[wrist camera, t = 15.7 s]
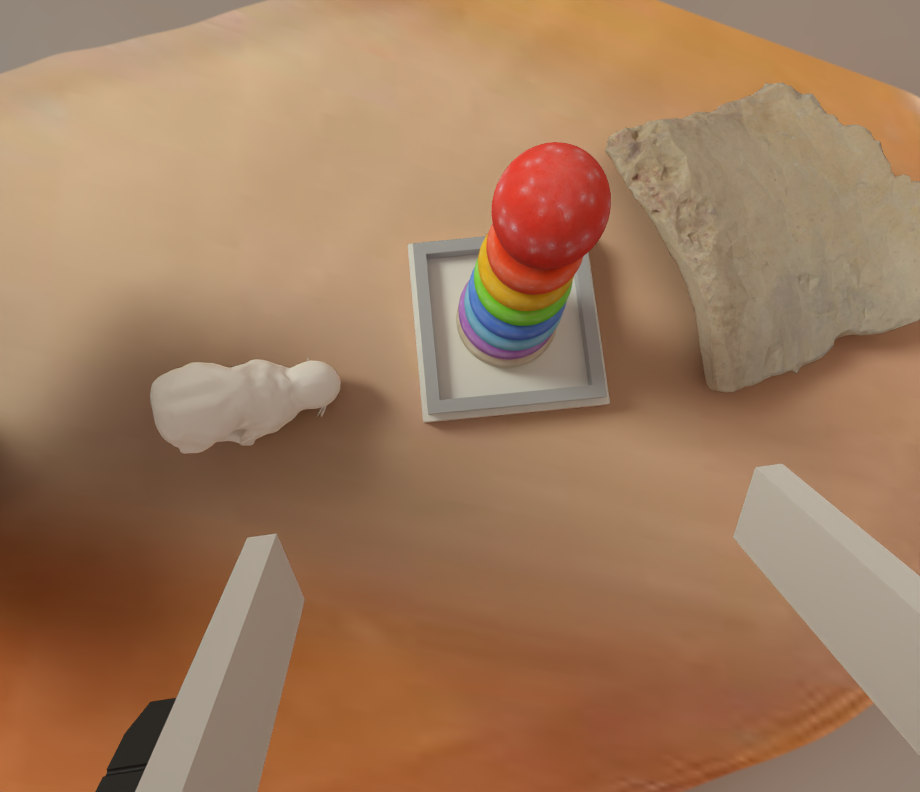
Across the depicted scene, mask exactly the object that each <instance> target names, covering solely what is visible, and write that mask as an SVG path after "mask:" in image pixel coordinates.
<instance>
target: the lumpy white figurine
mask: <svg viewBox="0 0 920 792" xmlns="http://www.w3.org/2000/svg"><path fill="white" fill-rule="evenodd" d="M307 359H308V358H307ZM308 360H309V359H308ZM308 360H307V362H303V363H300V364H298V365H296V366H294V367H291V368H287V367H285V366H283V365H279V364H275V363H272V362H270V361H266V360H259V359H255V360H251V361H249V362H247V363H245V364H241V365H237V366H234V367H231V368H229V367H225V366H222V365H218V364H215V363H203V362H193V363H189V364H187V365H185V366H183V367H181V368H176V369H173V370H170V371H169V372H167V373H165V374H163V375H161V376H159V377H158V378H157V379H156V380H155V381H154V382H153V383H152V386H151V392H150V401H151V406H152V410H153V416H154V421H155V425H156V428H157V430H158V431H159V433H160V434H161V436H162V438H163V439H164V440H166V441H167V442H169V443H170V444H172V445H173V446H175V447H178V448H179V450H180V452H181V453H184V454H187V453H200V452H203V451H205V450H206V449H208V448H209V447H211V446H212V445H213V444H214V443H215V442H224V441H233V442H236V443H239V444H240V445H246V446H250V445H253V444H254V443H255V440H256V439H258V438H260V437H262V436H264V435H266V434H270V433H274V432H276V431H278V430H279V429H281V428H282V427H283V426H284V425H285V424H287V423H288V422H290V421H291V420H293V419H294V418H295V417H296V416H297V414H298V413H299V412H300V411H301V410H305V409H318V408H321V409H320V411H319V413H318V415H319V414H320V412H321V410H322V409H323V410H322V413H321V415H323V414H324V412H325V409H326V407H327V405H328V404H330V403H331V402H332V401H333V400H334V399H335V398H336V397H337V395H338V393H339V392H340V384H341V381H340V378H339V375H338V374H337V372H336V371H335V370H334V369H333V368H332V367H331V366H330V365H328V364H327V363H324V362H321V361H310V360H309V361H308ZM318 415H317V416H318ZM320 417H322V416H320Z"/></svg>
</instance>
